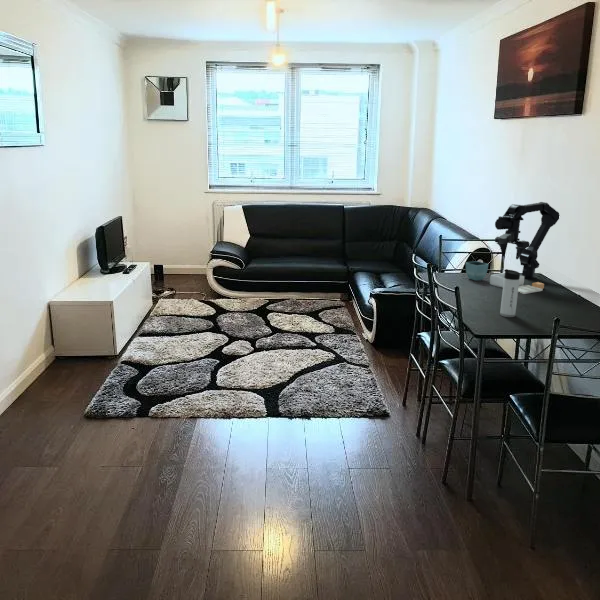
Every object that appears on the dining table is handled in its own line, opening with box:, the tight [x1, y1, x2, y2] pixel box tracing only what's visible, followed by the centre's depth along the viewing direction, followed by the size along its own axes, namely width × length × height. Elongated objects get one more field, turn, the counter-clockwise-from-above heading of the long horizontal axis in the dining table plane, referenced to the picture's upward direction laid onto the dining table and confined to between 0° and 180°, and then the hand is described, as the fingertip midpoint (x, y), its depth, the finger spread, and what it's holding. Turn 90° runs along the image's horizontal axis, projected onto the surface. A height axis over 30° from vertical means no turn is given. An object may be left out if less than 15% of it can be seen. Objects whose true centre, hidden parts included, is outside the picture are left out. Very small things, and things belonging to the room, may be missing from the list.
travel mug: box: [499, 269, 521, 318], centre depth 265 cm, size 6×7×20 cm
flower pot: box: [465, 260, 489, 281], centre depth 329 cm, size 9×9×9 cm
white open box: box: [489, 272, 525, 289], centre depth 320 cm, size 14×10×5 cm
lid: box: [518, 281, 545, 295], centre depth 312 cm, size 18×10×2 cm, turn 121°
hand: (510, 257), depth 329 cm, fingers open, 9 cm apart
